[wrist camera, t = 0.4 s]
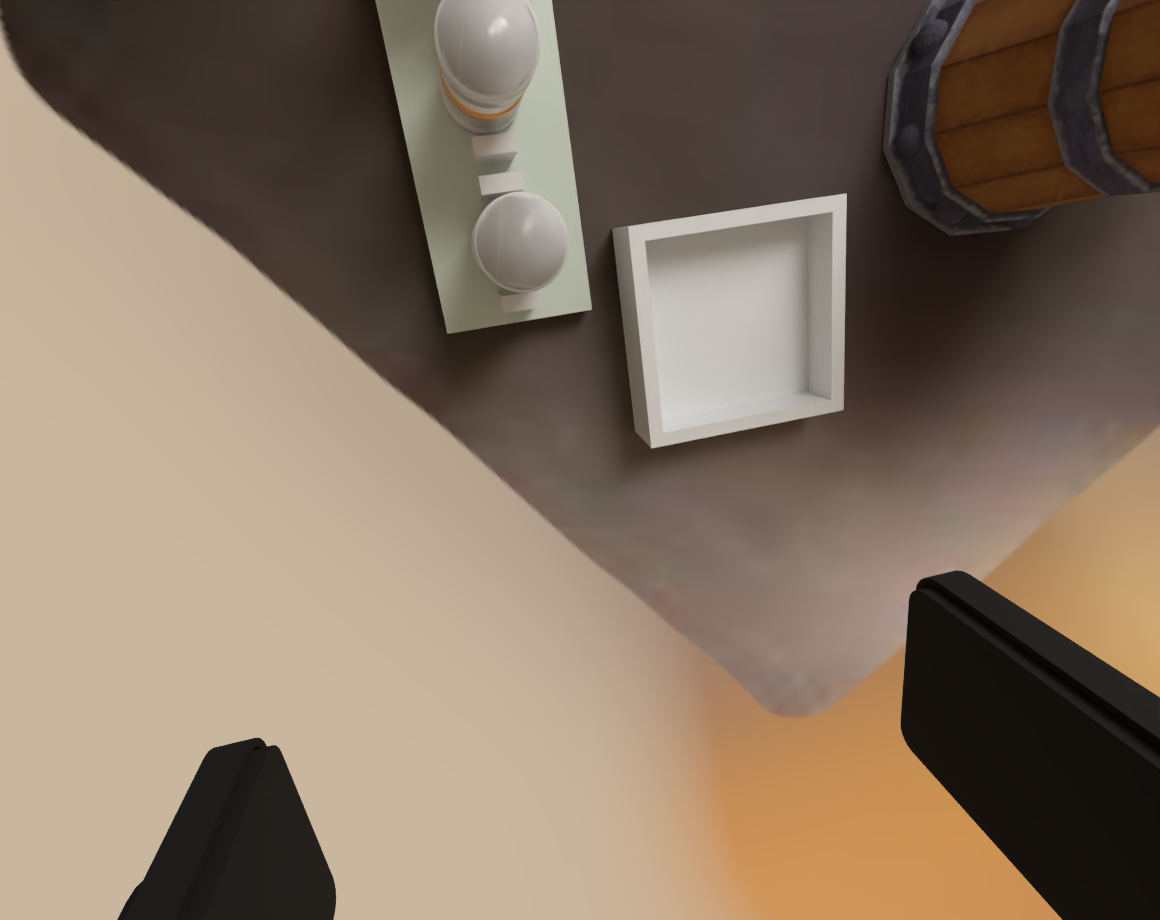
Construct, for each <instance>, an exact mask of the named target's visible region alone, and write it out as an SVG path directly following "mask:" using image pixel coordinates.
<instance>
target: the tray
mask: <svg viewBox="0 0 1160 920" xmlns="http://www.w3.org/2000/svg"><path fill="white" fill-rule="evenodd" d="M846 206H847V193H846V194H839V195H832V196H825V197H818V198H811V199H804V200H797V201H791V202H784V203H778V204H771V205H764V206H758V207H751V208H745V209H738V210H731V211H725V212H718V213H712V214H705V215H698V216H692V217H685V218H679V219H672V220H665V221H659V222H652V223H646V224H639V225H632V226H626V227H619V228H613V229H612V234H613V242H614V251H615V260H616V269H617V277H618V286H619V295H620V304H621V313H622V321H623V330H624V339H625V348H626V356H627V365H628V374H629V383H630V391H631V400H632V409H633V418H634V426H635V432H636V433H637V434H638V435H639V436H640V437H641V438H642V439H643V440H644V441H645V442H646V443H647V444H648V445H649V447H650V448H651V449H652V448H657V447H662V446H667V445H672V444H677V443H682V442H687V441H692V440H697V439H702V438H707V437H712V436H717V435H722V434H727V433H732V432H737V431H742V430H747V429H752V428H757V427H762V426H767V425H772V424H777V423H782V422H787V421H792V420H797V419H802V418H807V417H812V416H817V415H822V414H827V413H832V412H837V411H842V410H844V347H845V277H846Z"/></svg>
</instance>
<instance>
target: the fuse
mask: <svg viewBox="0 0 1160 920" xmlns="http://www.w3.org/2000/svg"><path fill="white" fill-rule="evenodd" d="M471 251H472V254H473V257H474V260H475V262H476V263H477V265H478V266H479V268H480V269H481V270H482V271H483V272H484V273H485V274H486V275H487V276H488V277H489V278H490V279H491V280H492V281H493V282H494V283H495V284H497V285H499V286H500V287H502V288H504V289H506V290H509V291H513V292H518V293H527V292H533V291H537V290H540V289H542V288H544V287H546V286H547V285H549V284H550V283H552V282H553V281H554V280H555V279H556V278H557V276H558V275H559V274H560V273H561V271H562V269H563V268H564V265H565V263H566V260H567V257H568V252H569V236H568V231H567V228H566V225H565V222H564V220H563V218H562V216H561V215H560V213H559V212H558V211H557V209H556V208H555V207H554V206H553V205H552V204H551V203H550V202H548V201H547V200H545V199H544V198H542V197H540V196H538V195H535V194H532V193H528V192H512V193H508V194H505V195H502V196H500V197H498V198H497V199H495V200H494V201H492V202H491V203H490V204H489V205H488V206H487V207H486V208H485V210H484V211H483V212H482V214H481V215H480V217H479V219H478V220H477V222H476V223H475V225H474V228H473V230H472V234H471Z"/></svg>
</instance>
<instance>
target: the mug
mask: <svg viewBox="0 0 1160 920" xmlns="http://www.w3.org/2000/svg"><path fill="white" fill-rule="evenodd" d="M883 151H884V154H885V156H886V159H887V161H888V164H889V166H890V169H891V171H892V174H893V176H894V178H895V181H896V183H897V186H898V188H899V191H900V193H901V196H902V198H903V201H904V203H905V206H906V207H907V208H908V209H910V210H911V211H913V212H914V213H916V214H918V215H919V216H921V217H922V218H924V219H925V220H927V221H928V222H930V223H931V224H933V225H934V226H936V227H938V228H939V229H941V230H942V231H944V232H945V233H947V234H948V235H965V234H975V233H986V232H997V231H1007V230H1011V229H1013V230H1019V229H1022V228H1025V227H1027V226H1029V225H1031V224H1032V223H1033V221H1034V220H1035V219H1036V218H1038V217H1039V216H1041V215H1042V214H1044V213H1045V212H1046V211H1048V210H1049V209H1051V208H1052V207H1053V206H1059V205H1064V204H1070V203H1075V202H1081V201H1086V200H1091V199H1097V198H1102V197H1108V196H1114V195H1126V194H1139V193H1151V192H1160V0H931V1H930V2H928V3H927V4H926V5H925V7H924V8H923V10H922V12H921V14H920V16H919V18H918V20H917V22H916V24H915V26H914V28H913V29H912V31H911V33H910V35H909V37H908V39H907V41H906V43H905V45H904V47H903V49H902V51H901V52H900V54H899V56H898V58H897V60H896V62H895V64H894V66H893V68H892V70H891V72H890V73H889V79H888V91H887V103H886V115H885V127H884V140H883Z"/></svg>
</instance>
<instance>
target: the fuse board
mask: <svg viewBox="0 0 1160 920" xmlns="http://www.w3.org/2000/svg"><path fill="white" fill-rule="evenodd" d="M375 1H376V6H377V11H378V15H379V20H380V24H381V29H382V34H383V38H384V43H385V48H386V52H387V57H388V61H389V66H390V71H391V75H392V80H393V84H394V89H395V94H396V98H397V103H398V108H399V112H400V117H401V121H402V126H403V131H404V135H405V140H406V145H407V149H408V154H409V158H410V163H411V168H412V172H413V177H414V181H415V186H416V191H417V195H418V200H419V205H420V209H421V214H422V218H423V223H424V228H425V232H426V237H427V241H428V246H429V251H430V255H431V260H432V265H433V269H434V274H435V278H436V283H437V288H438V292H439V297H440V302H441V306H442V311H443V315H444V320H445V325H446V329H447V334H450V333H456V332H462V331H468V330H474V329H480V328H486V327H492V326H498V325H504V324H510V323H516V322H522V321H528V320H534V319H540V318H545V317H551V316H557V315H563V314H569V313H575V312H581V311H587V310H592V305H591V298H590V290H589V282H588V275H587V267H586V259H585V252H584V244H583V236H582V229H581V221H580V214H579V206H578V198H577V191H576V183H575V175H574V168H573V160H572V152H571V145H570V137H569V129H568V122H567V114H566V106H565V99H564V91H563V84H562V76H561V68H560V61H559V53H558V45H557V38H556V30H555V22H554V15H553V7H552V0H528V2H529V3H530V5H531V7H532V9H533V10H534V13H535V15H536V17H537V21H538V24H539V28H540V34H541V52H540V58H539V62H538V65H537V67H536V70H535V72H534V75H533V77H532V79H531V82H530V84H529V85H528V87H527V89H526V90H525V93H524V95H523V99H522V102H521V105H520V108H519V110H518V112H517V115H516V116H515V118H514V120H513V121H512V123H511V124H510V125H509V126H508V127H507V128H506V129H504V130H503V131H501V132H499V133H497V134H492V135H484V136H478V135H474V134H471V133H469V132H467V131H465V130H463V129H462V128H460V127H459V126H458V125H457V124H456V123H455V122H454V121H453V120H452V119H451V117H450V116H449V114H448V112H447V110H446V108H445V106H444V103H443V100H442V95H441V87H440V69H439V63H438V59H437V54H436V46H435V37H434V25H435V18H436V13H437V10H438V7H439V4H440V2H441V0H375ZM512 192H528V193H532V194H535V195H538V196H540V197H542V198H544V199H545V200H547V201H548V202H550V203H551V204H552V205H553V206H554V207H555V208H556V209H557V211H558V212H559V213H560V215H561V216H562V218H563V220H564V222H565V225H566V228H567V231H568V236H569V252H568V257H567V260H566V263H565V265H564V268H563V269H562V271H561V273H560V274H559V275H558V276H557V278H556V279H555V280H554V281H553V282H552V283H550V284H549V285H547V286H546V287H544V288H542V289H540V290H537V291H533V292H527V293H518V292H513V291H509V290H506V289H504V288H502V287H500V286H499V285H497V284H495V283H494V282H493V281H492V280H491V279H490V278H489V277H488V276H487V275H486V274H485V273H484V272H483V271H482V270H481V269H480V268H479V266H478V265H477V263H476V262H475V260H474V257H473V254H472V251H471V234H472V230H473V228H474V225H475V223H476V222H477V220H478V219H479V217H480V215H481V214H482V212H483V211H484V210H485V208H486V207H487V206H488V205H489V204H490V203H491V202H492V201H494V200H495V199H497V198H498V197H500V196H502V195H505V194H508V193H512Z"/></svg>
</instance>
